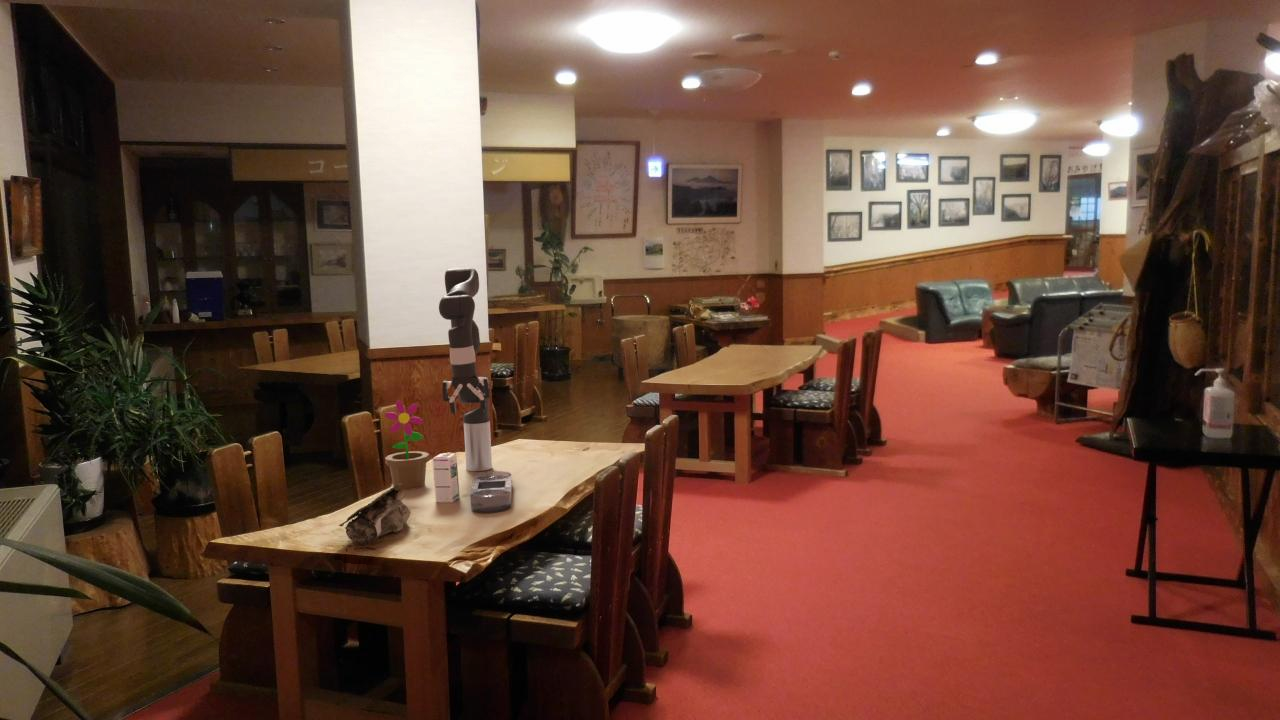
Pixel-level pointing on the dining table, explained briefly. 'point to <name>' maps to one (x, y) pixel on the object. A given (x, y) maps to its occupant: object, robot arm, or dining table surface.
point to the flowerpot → (406, 464)
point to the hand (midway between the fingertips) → (468, 412)
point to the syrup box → (446, 477)
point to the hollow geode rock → (378, 517)
